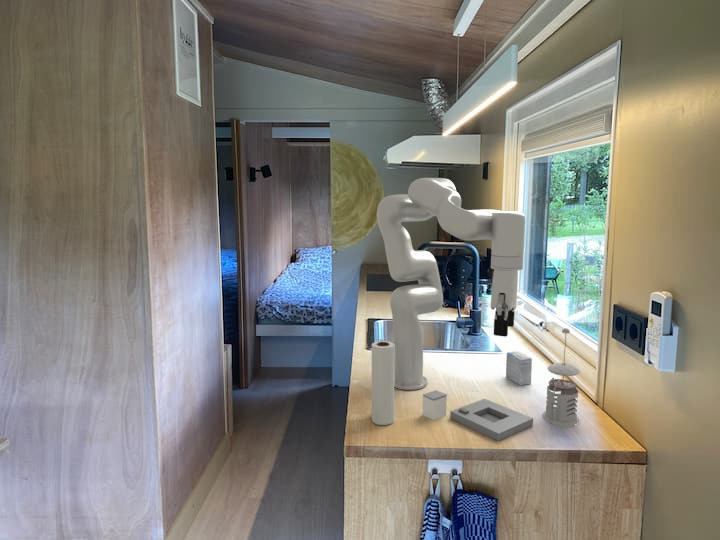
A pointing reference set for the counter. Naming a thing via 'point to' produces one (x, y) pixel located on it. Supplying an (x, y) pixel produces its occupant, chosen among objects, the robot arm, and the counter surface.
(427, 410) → the plug
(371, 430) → the counter surface
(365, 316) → the counter surface
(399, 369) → the robot arm
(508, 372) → the medicine box
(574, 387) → the french press
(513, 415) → the socket plate
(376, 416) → the paper towel roll
